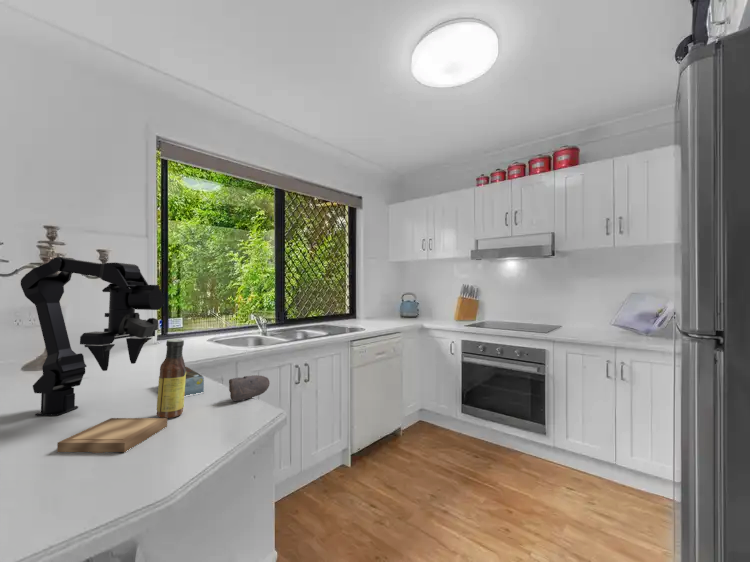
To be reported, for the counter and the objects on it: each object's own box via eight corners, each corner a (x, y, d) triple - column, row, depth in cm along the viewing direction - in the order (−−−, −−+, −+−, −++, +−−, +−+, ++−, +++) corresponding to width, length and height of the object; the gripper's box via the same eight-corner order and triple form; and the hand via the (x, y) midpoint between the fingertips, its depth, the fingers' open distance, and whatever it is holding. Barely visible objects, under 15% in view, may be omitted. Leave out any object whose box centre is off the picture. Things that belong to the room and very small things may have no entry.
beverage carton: (177, 399, 107) (177, 378, 107) (161, 387, 121) (162, 368, 121) (204, 394, 113) (204, 373, 113) (186, 383, 126) (187, 365, 127)
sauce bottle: (188, 413, 94) (196, 340, 94) (168, 421, 88) (177, 343, 88) (169, 408, 96) (177, 337, 96) (148, 416, 90) (157, 339, 90)
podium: (57, 452, 71) (57, 442, 71) (110, 426, 85) (111, 417, 85) (124, 452, 70) (124, 442, 70) (167, 426, 84) (167, 417, 84)
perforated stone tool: (264, 390, 116) (264, 369, 116) (274, 393, 113) (274, 372, 113) (222, 402, 104) (222, 378, 104) (232, 405, 101) (232, 381, 101)
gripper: (121, 311, 84) (118, 376, 83) (173, 308, 102) (171, 361, 102) (79, 310, 85) (76, 374, 84) (138, 307, 104) (136, 359, 103)
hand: (119, 366), depth 93 cm, fingers open, 9 cm apart
